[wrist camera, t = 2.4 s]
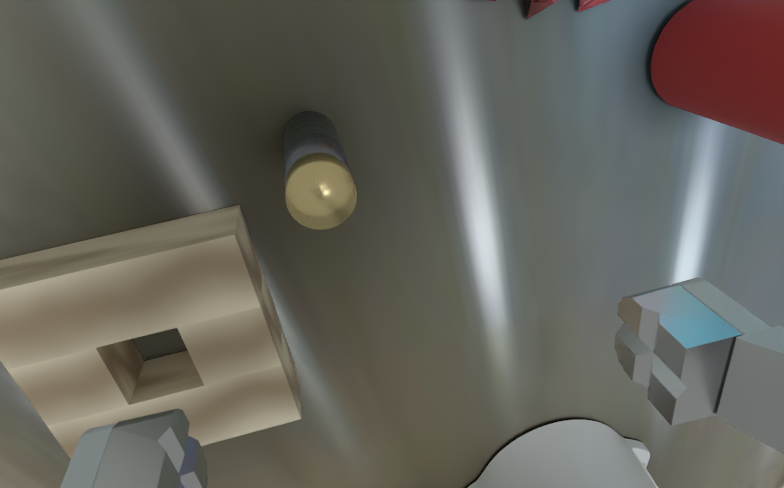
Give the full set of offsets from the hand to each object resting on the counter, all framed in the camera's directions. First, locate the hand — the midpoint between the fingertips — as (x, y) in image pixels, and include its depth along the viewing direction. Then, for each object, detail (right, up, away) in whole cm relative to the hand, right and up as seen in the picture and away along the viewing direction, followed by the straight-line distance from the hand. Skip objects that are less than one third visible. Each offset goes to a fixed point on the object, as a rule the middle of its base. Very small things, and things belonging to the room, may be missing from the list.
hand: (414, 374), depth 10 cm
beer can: (+18, +14, +23) cm, 32 cm away
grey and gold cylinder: (-5, +8, +20) cm, 23 cm away
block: (-15, -3, +24) cm, 29 cm away
